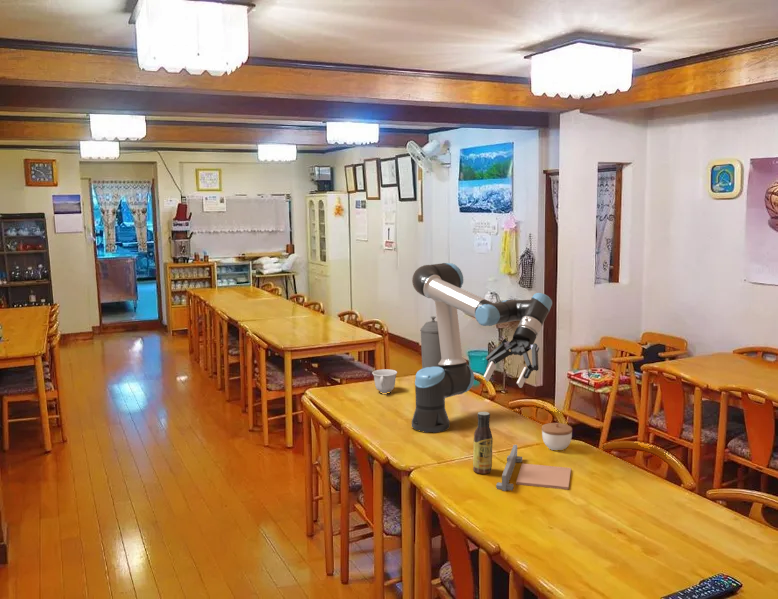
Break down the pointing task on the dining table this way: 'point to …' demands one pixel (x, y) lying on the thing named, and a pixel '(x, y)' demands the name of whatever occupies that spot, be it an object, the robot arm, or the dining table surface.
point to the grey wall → (509, 470)
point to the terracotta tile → (544, 476)
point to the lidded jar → (556, 435)
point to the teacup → (384, 379)
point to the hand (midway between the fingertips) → (502, 382)
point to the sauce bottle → (482, 445)
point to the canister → (430, 344)
